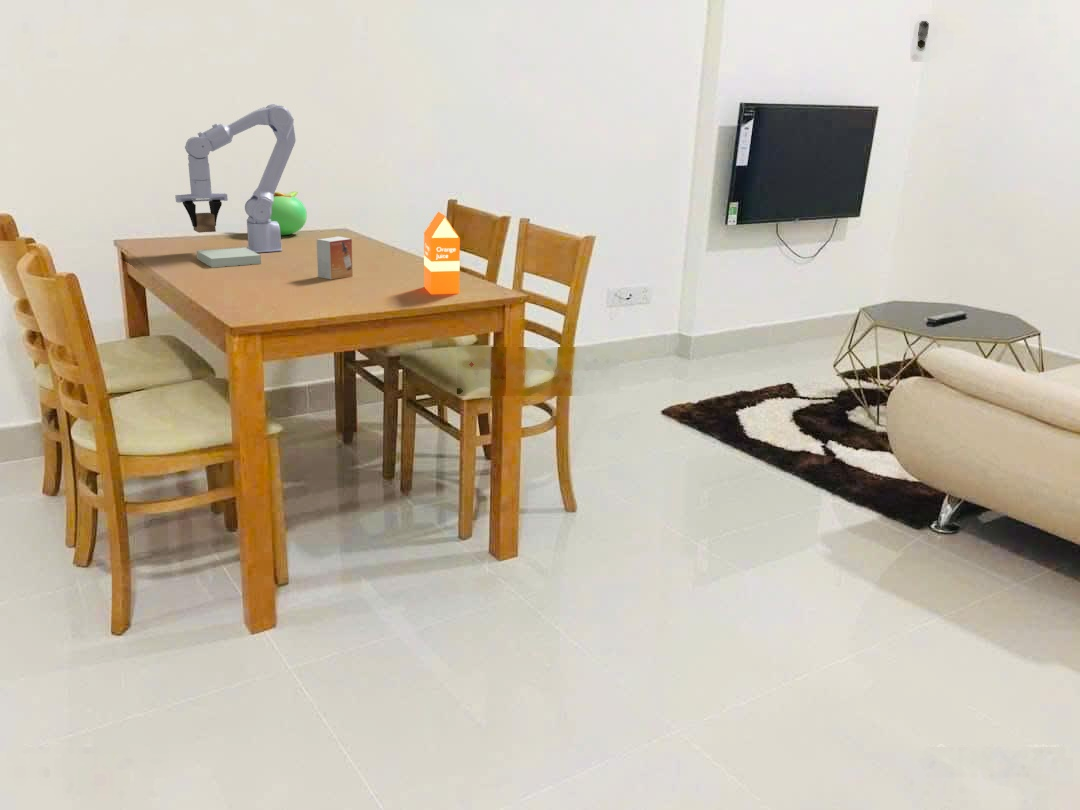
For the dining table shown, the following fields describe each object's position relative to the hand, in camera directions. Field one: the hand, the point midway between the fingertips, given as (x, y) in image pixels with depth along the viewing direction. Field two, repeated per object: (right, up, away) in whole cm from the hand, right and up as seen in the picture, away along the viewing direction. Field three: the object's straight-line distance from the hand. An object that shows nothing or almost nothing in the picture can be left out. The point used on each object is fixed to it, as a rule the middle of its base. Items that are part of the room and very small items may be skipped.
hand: (204, 225), depth 264 cm
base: (+10, -12, -7) cm, 17 cm away
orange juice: (+75, -23, -31) cm, 84 cm away
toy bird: (+11, +5, +39) cm, 41 cm away
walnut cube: (0, -1, +1) cm, 2 cm away
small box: (+44, -18, -21) cm, 52 cm away
